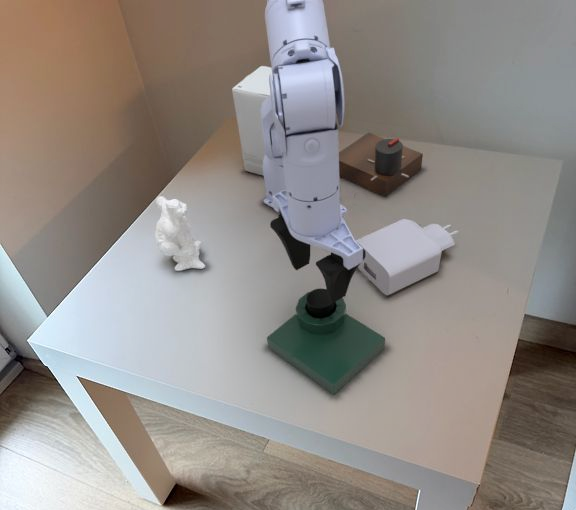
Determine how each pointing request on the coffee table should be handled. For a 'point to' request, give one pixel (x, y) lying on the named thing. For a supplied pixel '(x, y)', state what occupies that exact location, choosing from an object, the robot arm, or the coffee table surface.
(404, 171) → the panel
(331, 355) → the base
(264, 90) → the white product box
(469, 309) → the coffee table surface
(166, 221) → the koala figurine
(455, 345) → the coffee table surface
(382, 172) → the lock knob
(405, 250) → the charger
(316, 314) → the black push button
